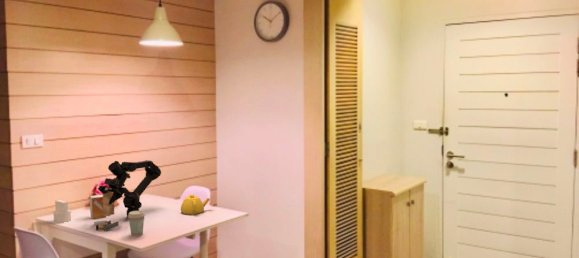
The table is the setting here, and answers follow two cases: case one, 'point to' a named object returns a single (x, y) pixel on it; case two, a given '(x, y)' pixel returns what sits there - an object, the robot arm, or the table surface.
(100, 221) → the slate mat
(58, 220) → the cylinder with rectangular tab
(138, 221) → the coffee cup
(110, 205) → the tan flared column
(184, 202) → the teapot
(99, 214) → the small box
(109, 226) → the steel rack
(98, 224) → the offcut stack
